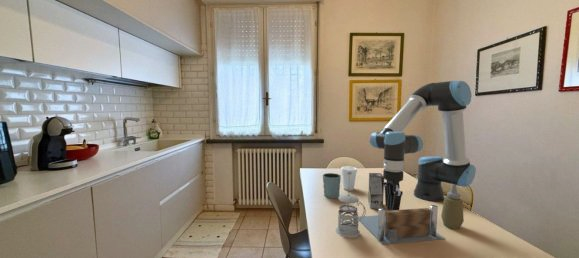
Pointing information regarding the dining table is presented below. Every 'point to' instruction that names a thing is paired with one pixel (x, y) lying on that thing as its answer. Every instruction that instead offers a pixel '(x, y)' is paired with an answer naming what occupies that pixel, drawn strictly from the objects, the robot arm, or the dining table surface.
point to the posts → (393, 231)
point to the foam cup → (348, 177)
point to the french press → (348, 216)
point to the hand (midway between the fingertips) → (391, 225)
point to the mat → (372, 226)
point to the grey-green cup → (331, 185)
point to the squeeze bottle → (452, 209)
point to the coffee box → (376, 190)
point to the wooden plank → (408, 222)
